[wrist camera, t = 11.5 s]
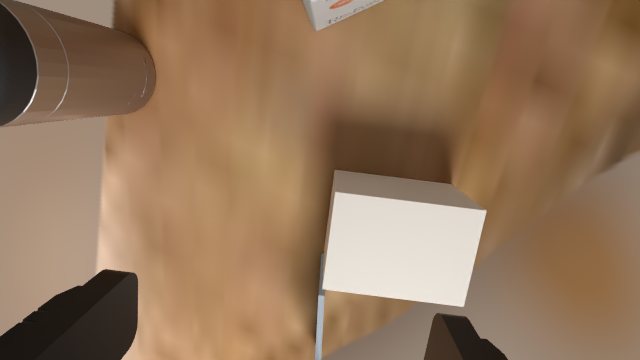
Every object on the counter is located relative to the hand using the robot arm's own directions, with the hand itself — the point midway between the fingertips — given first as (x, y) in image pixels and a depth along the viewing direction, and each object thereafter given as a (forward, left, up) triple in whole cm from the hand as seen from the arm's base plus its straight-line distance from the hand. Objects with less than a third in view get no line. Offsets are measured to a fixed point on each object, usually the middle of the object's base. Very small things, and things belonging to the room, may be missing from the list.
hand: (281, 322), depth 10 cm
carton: (+9, -8, -34) cm, 36 cm away
